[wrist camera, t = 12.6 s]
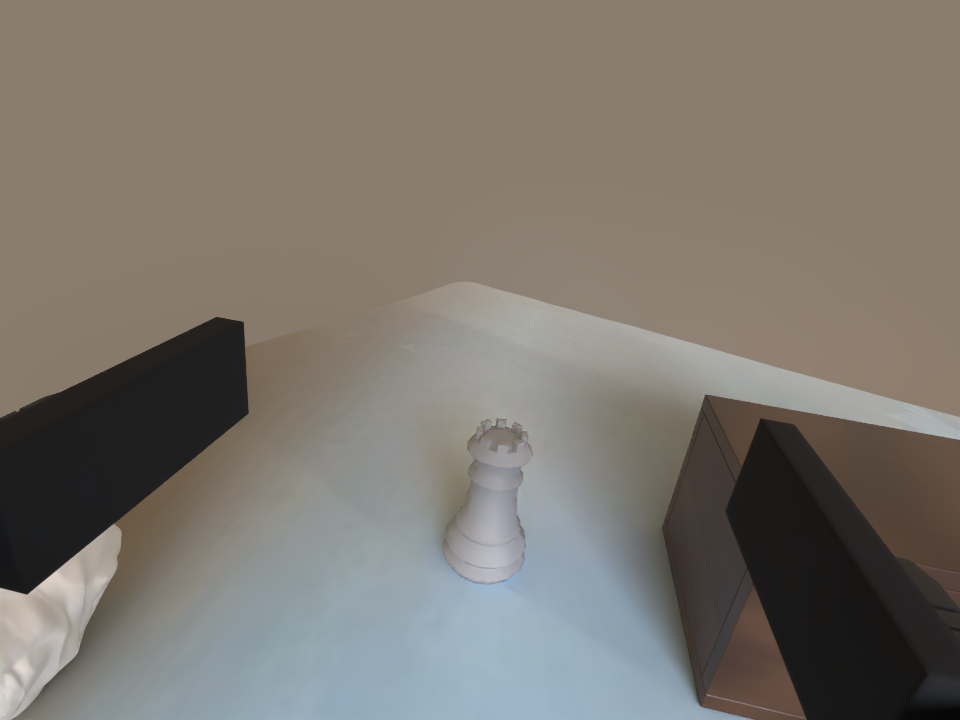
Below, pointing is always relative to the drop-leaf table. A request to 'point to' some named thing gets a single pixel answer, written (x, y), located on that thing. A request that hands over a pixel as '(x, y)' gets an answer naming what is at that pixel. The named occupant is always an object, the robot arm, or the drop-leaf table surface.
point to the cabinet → (720, 565)
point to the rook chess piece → (490, 507)
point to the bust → (51, 622)
